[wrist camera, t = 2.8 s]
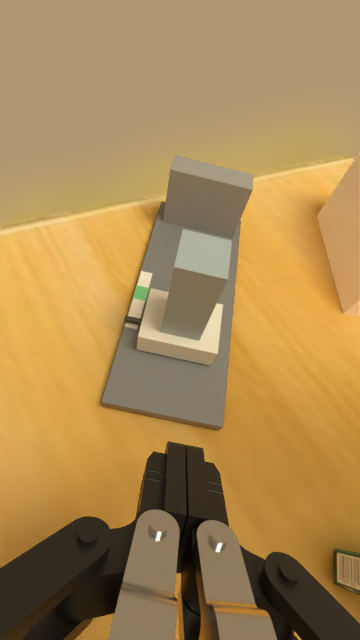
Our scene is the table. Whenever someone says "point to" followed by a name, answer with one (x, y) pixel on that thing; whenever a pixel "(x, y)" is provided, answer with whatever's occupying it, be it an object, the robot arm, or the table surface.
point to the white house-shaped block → (344, 237)
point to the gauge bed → (173, 216)
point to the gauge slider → (188, 302)
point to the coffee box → (347, 570)
